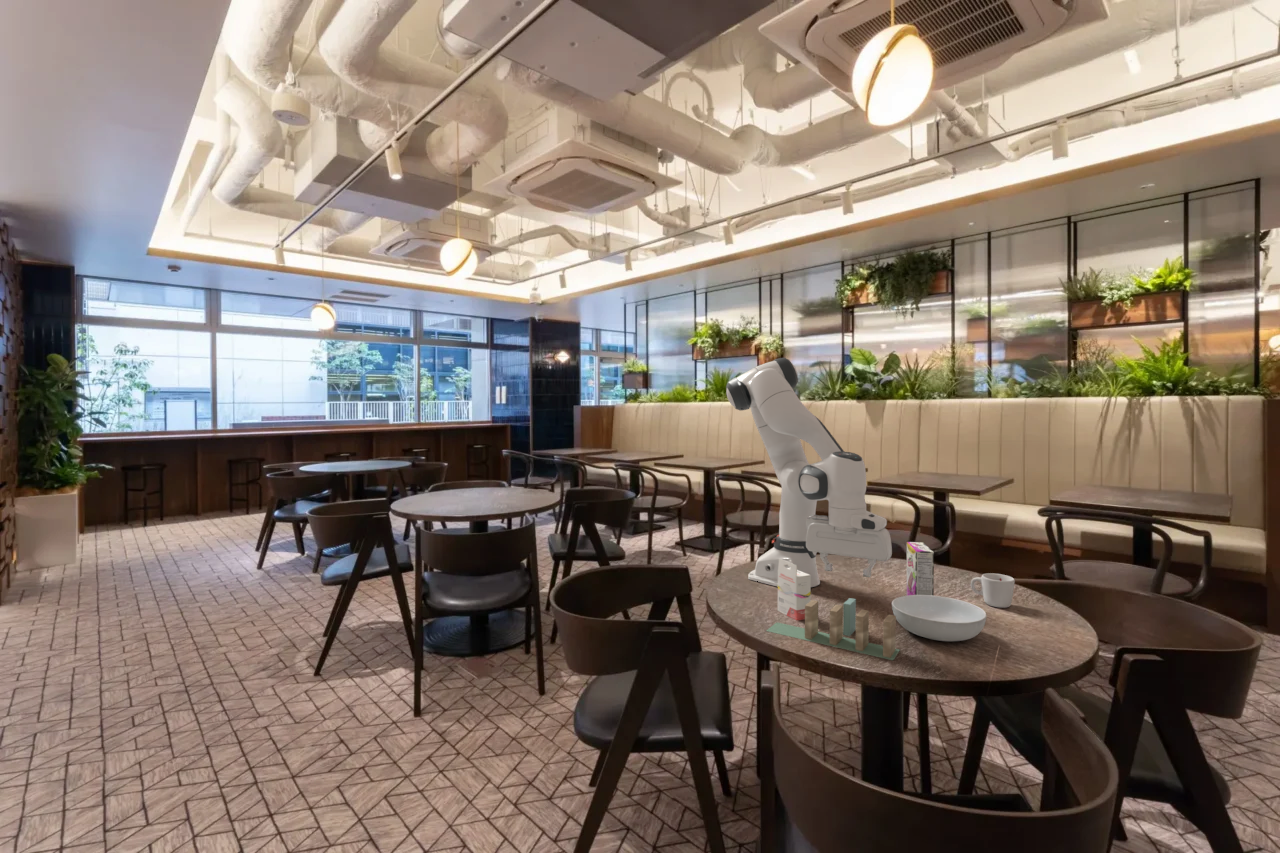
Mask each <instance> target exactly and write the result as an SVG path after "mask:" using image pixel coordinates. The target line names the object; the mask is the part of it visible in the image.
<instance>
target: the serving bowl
mask: <svg viewBox="0 0 1280 853" xmlns="http://www.w3.org/2000/svg"><path fill="white" fill-rule="evenodd" d="M891 609H892V612H893V615H894V616H896V622H898V624H899V625H900V626H901V627H903V628H904V629H905V630H906V631H908V632H910V633H911V634H913V635H916V636H918V637H923V638H926V639H928V640H934V641H940V642H960V641H961V642H962V641H966V640H967V641H968V640H970V639H972V638H973V639H974V638H975V637H976V636H978V634H980V633H981V632H982V630H984V627H985V625H986V622H987V613H986V611H985V610H984V609H983V608H981V607H979V606H977V605H975V604H973V603H970V602H968V601H965V600H961V599H958V598H953V597H948V596H940V595H934V596H933V595H908V596H906V595H903V596H899V597H896V598H894V599H893V600H892V601H891Z"/></svg>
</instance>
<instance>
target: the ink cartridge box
mask: <svg viewBox="0 0 1280 853" xmlns="http://www.w3.org/2000/svg"><path fill="white" fill-rule="evenodd" d="M785 565H788V566H789V567H791V568H785V567H784V566H785ZM811 588H812V587H811V575H809V574H806V573H804V572H801V571H799V570H797V565H795V564H792V563H790V562H788V561H785V560H782V559H779V565H778V587H777V612H780V613H782V614H783V615H785V616H788V617H790V618H791V619H793V620H795V621H802V620H805V605H806V604H808V603H809V602H810V601H811V600H812V597H811Z"/></svg>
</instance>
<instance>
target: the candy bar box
mask: <svg viewBox="0 0 1280 853" xmlns="http://www.w3.org/2000/svg"><path fill="white" fill-rule="evenodd" d="M934 556H935V552H934V550H932V549H931V548H930V547H929V546H928V545H927V544H926V543H924V542H920V541H919V542H917V541H907V542H906V595H905V596H908V595H933V596H935V595H934V587H935V586H934V584H935V582H934V580H935V579H934V576H935V575H934V574H935V573H934V571H935V566H934V565H935V558H934Z"/></svg>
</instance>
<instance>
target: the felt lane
mask: <svg viewBox="0 0 1280 853" xmlns="http://www.w3.org/2000/svg"><path fill="white" fill-rule="evenodd" d="M765 631H766V632H768V633H773V634H778V635H782V636H786V637H791V638H795V639H798V640H804V641H807V642H812V643H815V644H816V643H817V644H820V645H825V646H829V647H834V648H836V649H837V648H838V649H842V650H846V651H850V652H854V653H858V654H864V655H867V656H873V657H877V658H880V659H886V660H889V661H895V658H896V657H897V655H898V653H899V652H900V651H901V649H899V648H895V652H894V653H893V655H892V656H891V658H889V657H885V656H883V644H882V645H881V644H877V643H872V642H868V645H867V647H866V648H865V649H864V650H863V651H858V650H856V638H855V639H854V638H850V637H847V636H843V639H842V640H841V641H840V642H839V643H838V644H837V645H832V644H830V633H826V632H822V631H818V634H817V635H816V636H814V637H813V638H812V639H806V638H805V627H800V626H795V625H791V624H786V623H782V622H775V623H774V624H773V625H771V626H770V627H768V629H766V630H765Z"/></svg>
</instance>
